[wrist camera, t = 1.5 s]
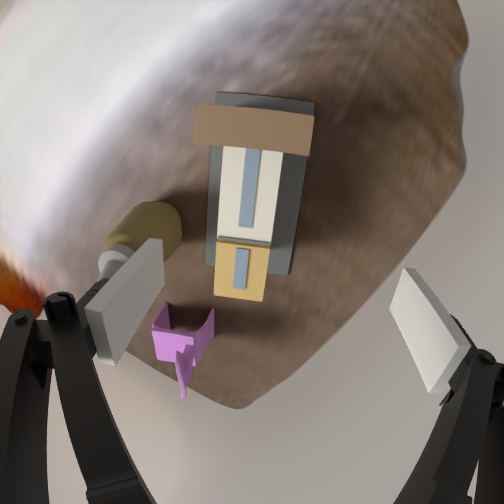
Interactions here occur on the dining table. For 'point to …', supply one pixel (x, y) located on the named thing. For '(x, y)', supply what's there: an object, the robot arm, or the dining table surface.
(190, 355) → the pink scoop
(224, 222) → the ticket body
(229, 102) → the mat
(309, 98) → the dining table surface
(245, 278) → the stub
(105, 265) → the squeeze bottle
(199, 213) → the dining table surface
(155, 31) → the dining table surface
